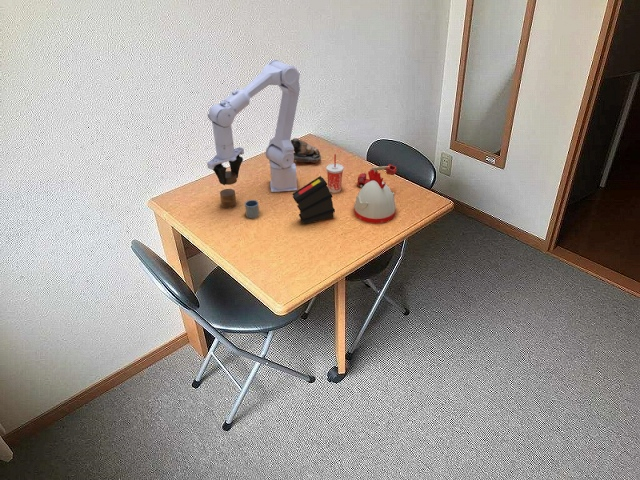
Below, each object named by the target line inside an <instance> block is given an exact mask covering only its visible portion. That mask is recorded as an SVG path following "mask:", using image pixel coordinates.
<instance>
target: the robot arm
mask: <svg viewBox="0 0 640 480" xmlns="http://www.w3.org/2000/svg"><path fill="white" fill-rule="evenodd" d="M262 69H263V70H262V71H261V72H260V73H258V74H257V76H256V77H254V78H253V80H252V81H250V82H249V83H248V84H247V85H245V87H244V88H243V89H239V88H237V89H233V90H232V91H231V94H229V95H228V96H227V97H225V98H224V100H220V102H219V103H215V104H213V105H212V106H211V107H210V108H209V110H208V113H207V118H208V120H209V121H211V124H212V130H213V138H214V145H215V146H214V147H215V153H216V155H215V156H214V157H213V158H212V159H210V160H209V161H208V162H206V165H207V169H209V170H212V171H213V172H214V174H215V176H216V177H217V179H218V182H219V184H221V185H223V186H226V185H225V184H226V177H225V174H226V171H227V169H228V168H227V167H225V166H224V164H225V163H228V164H229V167H230V171H233V172H235V173H236V176H237V179H239V173H240V169H241V165H242V163H243V161H244V158H243V155H245V151H244V150H245V149H244V148H243V147H241V146H239V147H235V145H234V138H233V137H234V136H233V128H232V125H233V123H234V122H235V118H236V117H237V115H238V114H239V113H240V112H242V111H243V110H244V109H245V108H246V107H247V106H248V107H249V105H250V100H251V98H253V97H254V96H256V95H257V94H258V93H260V92H261V91H263V90H265V89H266V88H267V87H268V86H278V87H279V89H280V90H281V91H282V93H281V99H280V105H279V109H278V110H279V111H278V117H277V122H276V127H275V128H276V129H275V133H274V137H272V138H271V139H270V140H269V142H268V145H267V147H266V149H265V157H266V158H267V160H269V161H268V163H269V166H270V167H269V168H270V181H269V185H270V192H271V193H279V192H280V193H281V192H291V191H292V192H293V191H294V192H296V191H297V190H298V175H297V164H296V163H295V160H294V153H295V152H294V147H293V145H292V143H291V138H292V134H293V133H292V132H293V127H294V122H295V118H296V112H297V106H298V102H299V95H300V92H301V91H300V90H301V89H300V88H301V87H300V77H301V74H300V72H299V70H298V69H297V68H296V66H294V65H290V64H287V63H285V62H281V61H280V60H278V59H273V60H271V61H269V62H268V63H267V64H266V65H264V67H263V68H262ZM241 155H242V156H241Z"/></svg>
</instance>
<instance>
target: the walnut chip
mask: <svg viewBox="0 0 640 480" xmlns="http://www.w3.org/2000/svg"><path fill="white" fill-rule="evenodd" d="M225 177H226V184H225V185H224V186H230V185H234V184H236V183H237V182H238V178H237V176H236V173H235V172H233V171H231V170H226V174H225Z"/></svg>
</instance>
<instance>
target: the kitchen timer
mask: <svg viewBox="0 0 640 480" xmlns="http://www.w3.org/2000/svg"><path fill="white" fill-rule="evenodd" d="M377 171H378V170H377ZM377 171H376V172H375V173H374V169H373V170H371V171H370V170H368V171H367V175H368V179H370V181H369V182H368V183H366V184H365V185H364V186H363V187H362V188H360V190H359V192H358V194H357V195H356V198H355V202H354V206H353V213H354V215H355V217H357V218H358V220H361V221H362V222H366V223H370V224H383V223H387V222H389V221H391V220H392V219H394V218H395V216H396V201H395V195H396V194H395V192H392V190H391V188H390V186H388V185H387V183H386V182H385V181H384V178H383V177H381V172H378V174H377ZM380 177H381V179H380ZM384 182H385V183H384Z"/></svg>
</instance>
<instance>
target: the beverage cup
mask: <svg viewBox="0 0 640 480" xmlns="http://www.w3.org/2000/svg"><path fill="white" fill-rule="evenodd" d="M333 161H334V163H329V164H328V165H327V166H326V168H325V169H326V174H327V184H328V185H327V187H328V189H329V192H330V193H331V194H332V193H333V194H337V193H340V192H341V191H342V183H343V171H344V169H345V168H344V165H342V164H340V163H337V154H335V153H334V160H333Z"/></svg>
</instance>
